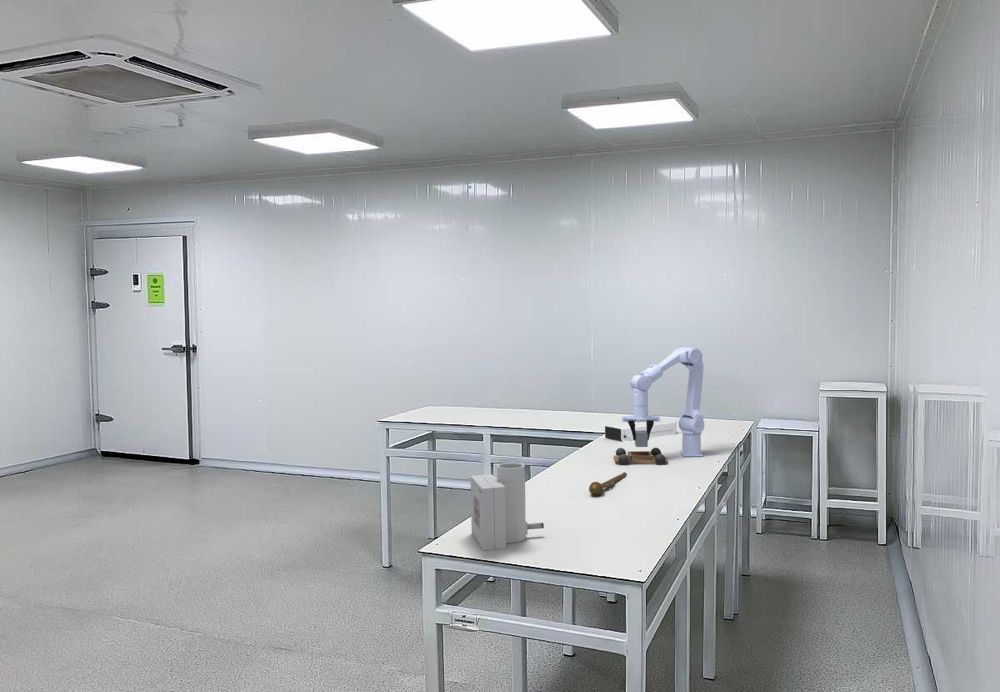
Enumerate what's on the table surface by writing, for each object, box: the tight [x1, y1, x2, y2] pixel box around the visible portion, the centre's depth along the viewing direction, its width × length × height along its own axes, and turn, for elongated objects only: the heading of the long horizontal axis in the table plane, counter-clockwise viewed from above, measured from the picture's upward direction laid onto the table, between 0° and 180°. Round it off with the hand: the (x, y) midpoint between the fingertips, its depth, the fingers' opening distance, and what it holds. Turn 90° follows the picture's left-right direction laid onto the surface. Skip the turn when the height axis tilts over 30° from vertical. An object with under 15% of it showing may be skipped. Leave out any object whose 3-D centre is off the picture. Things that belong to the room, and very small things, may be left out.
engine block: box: [634, 430, 649, 448], centre depth 322 cm, size 6×4×6 cm
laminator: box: [604, 419, 677, 442], centre depth 380 cm, size 34×12×6 cm, turn 122°
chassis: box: [613, 447, 669, 466], centre depth 323 cm, size 15×20×4 cm
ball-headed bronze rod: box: [588, 471, 628, 497], centre depth 281 cm, size 5×35×5 cm
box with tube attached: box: [469, 462, 545, 551], centre depth 221 cm, size 16×19×20 cm
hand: (640, 440), depth 322 cm, fingers closed on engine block, 4 cm apart
